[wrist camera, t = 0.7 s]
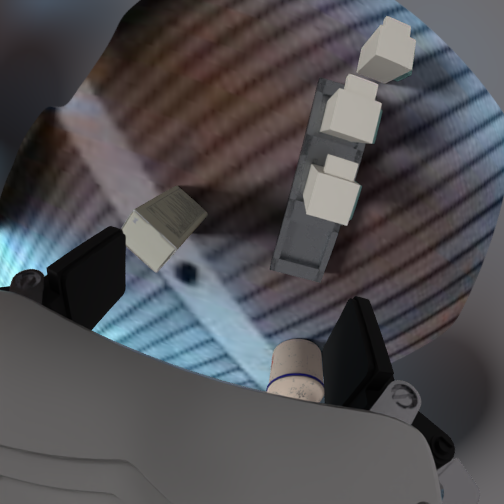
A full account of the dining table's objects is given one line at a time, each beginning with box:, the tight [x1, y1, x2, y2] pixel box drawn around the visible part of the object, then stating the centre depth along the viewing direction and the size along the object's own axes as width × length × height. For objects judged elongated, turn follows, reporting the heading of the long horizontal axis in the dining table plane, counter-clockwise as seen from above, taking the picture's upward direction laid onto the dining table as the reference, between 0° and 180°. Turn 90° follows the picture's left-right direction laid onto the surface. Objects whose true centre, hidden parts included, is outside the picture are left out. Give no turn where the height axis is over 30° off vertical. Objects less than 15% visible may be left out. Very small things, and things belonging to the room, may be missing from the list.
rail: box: [270, 78, 377, 282], centre depth 32 cm, size 25×7×3 cm, turn 167°
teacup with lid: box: [266, 339, 324, 402], centre depth 41 cm, size 12×9×12 cm
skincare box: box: [121, 186, 208, 272], centre depth 32 cm, size 6×4×12 cm
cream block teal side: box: [320, 74, 383, 144], centre depth 24 cm, size 6×5×9 cm
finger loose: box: [357, 16, 416, 84], centre depth 22 cm, size 6×5×9 cm
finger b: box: [303, 154, 362, 226], centre depth 27 cm, size 6×5×9 cm
